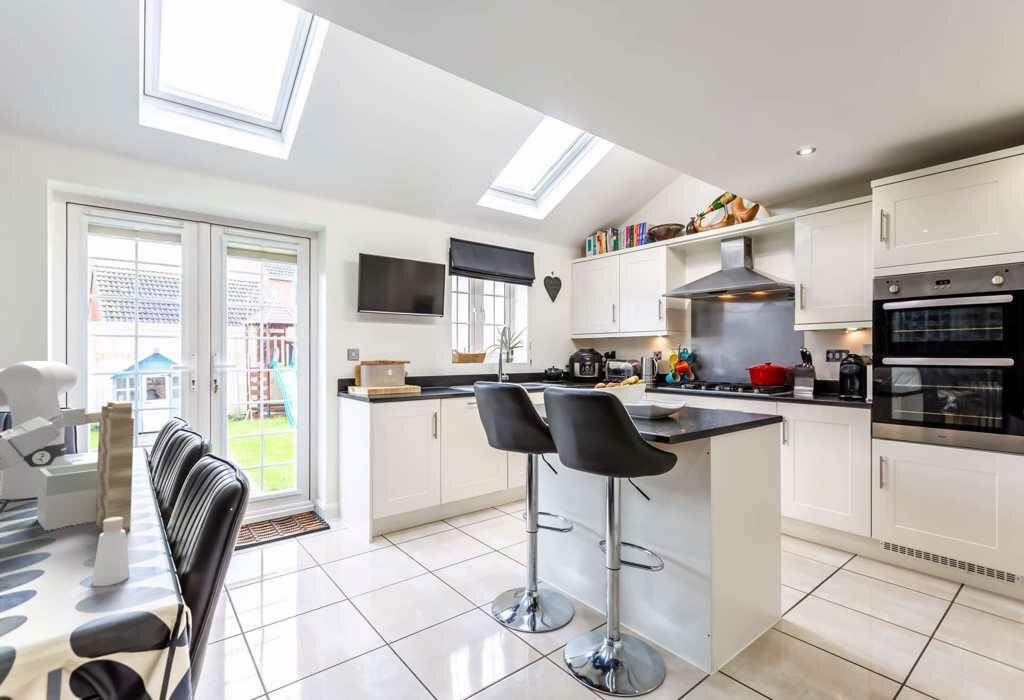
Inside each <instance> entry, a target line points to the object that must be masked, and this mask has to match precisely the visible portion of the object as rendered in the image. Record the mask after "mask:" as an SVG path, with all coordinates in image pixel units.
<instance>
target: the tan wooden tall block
mask: <svg viewBox="0 0 1024 700" xmlns="http://www.w3.org/2000/svg"><path fill="white" fill-rule="evenodd" d="M106 402H107V404H106V405H101V412H102V414H101V416H99V422H98V446H97V462H98V470H97V498H96V521H95V525H97V526H98V528H100V529H101V530H102V531H104V529H103V526H104V524H103V521H104V520H105V519H108V518H111V517H122V518H123V521H122V529H123V530H125V532H128V531H131V523H132V522H131V519H132V518H131V516H132V514H131V513H132V512H131V511H132V494H133V493H132V487H133V458H134V433H135V431H134V429H135V427H134V426H135V425H134V423H135V422H134V421H135V418H133V416H132V415H133V413H132V412H133V403H132V402H130V401H125V400H115V401H114V400H113V401H112V400H111V401H109V400H108V401H106Z"/></svg>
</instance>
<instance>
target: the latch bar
mask: <svg viewBox="0 0 1024 700" xmlns="http://www.w3.org/2000/svg"><path fill="white" fill-rule="evenodd" d="M71 412H72V413H75V415H76V416H77V419H75V420H73V421H71V422H69V423H68V424H67V425H65V426H64V427H65V428H67V427H76V426H83V425H87V424H88V425H89V424H95V423H99V416H101V414H102V411H95V412H87V413H86V409H85V408H84V407H82V406H79V407H70V408H62V409H60V418H61V417H63V416H64V415H66V414H69V413H71Z"/></svg>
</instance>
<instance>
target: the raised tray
mask: <svg viewBox="0 0 1024 700" xmlns="http://www.w3.org/2000/svg"><path fill="white" fill-rule="evenodd" d="M97 470H98V461H93V462H86V463H77V464H76V463H75V464H72V465H67V466H58V467H50V468H42V469H39V479H38V497H37V508H36V509H37V510H36V521H37V520H38V521H37V522H38V523H39V525H40V524H41V525H40V526H41V527H43V528H44V529H43V528H42V529H43V531H44V532H47V531H46V530H48V531H52V530H51V529H53V530H57V529H56V528H59V529H62V528H61V527H64V528H66V527H65V526H69V525H74V526H76V525H75V524H79V525H82V524H81V523H84V524H87V523H86V522H89V523H93V521H94V522H96V498H97ZM69 527H70V526H69Z"/></svg>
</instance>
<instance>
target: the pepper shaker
mask: <svg viewBox="0 0 1024 700" xmlns="http://www.w3.org/2000/svg"><path fill="white" fill-rule="evenodd" d="M122 521H123V518H122V517H111V518H108V519H105V520H104V521H103V524H104V526H103V529H104V531H103V530H102V531H103V532H102V533H100V534H99V537H98V543H97V549H96V555H95V561H94V568H93V573H92V580H91V583H92V585H93V587H107V586H113V585H116V584H120V583H122V582H123V581H125V580H127V579H129V578H130V564H129V554H128V553H129V552H128V543H127V534H126V531H125V530H123V529H122Z"/></svg>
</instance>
